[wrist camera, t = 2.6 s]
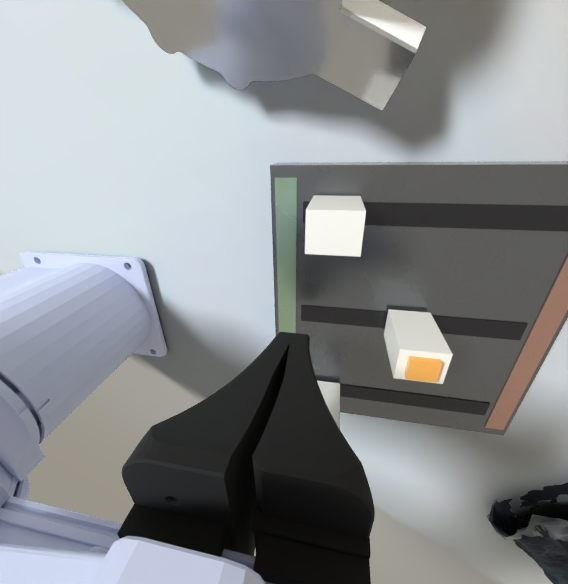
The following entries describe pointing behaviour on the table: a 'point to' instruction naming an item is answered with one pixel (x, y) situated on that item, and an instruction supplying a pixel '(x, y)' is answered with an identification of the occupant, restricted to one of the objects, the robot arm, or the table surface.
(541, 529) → the electronic device
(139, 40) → the table surface
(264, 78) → the tabbed white plastic disc
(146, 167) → the table surface
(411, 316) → the block
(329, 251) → the block
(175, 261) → the table surface
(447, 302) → the grey slider switch panel
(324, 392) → the block
